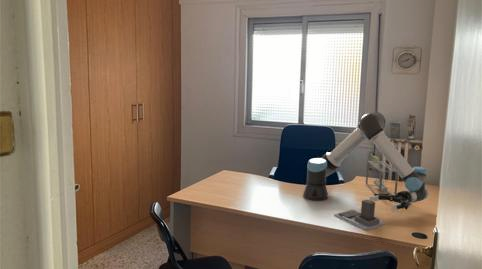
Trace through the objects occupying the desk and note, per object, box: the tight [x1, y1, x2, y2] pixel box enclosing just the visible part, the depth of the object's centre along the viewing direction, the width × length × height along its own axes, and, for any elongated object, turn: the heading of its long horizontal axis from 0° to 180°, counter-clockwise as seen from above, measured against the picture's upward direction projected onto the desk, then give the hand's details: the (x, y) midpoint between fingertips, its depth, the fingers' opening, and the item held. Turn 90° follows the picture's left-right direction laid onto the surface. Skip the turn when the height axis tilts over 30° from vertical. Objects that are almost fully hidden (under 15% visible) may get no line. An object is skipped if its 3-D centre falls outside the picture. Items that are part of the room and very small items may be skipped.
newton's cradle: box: [365, 160, 399, 199], centre depth 240 cm, size 30×10×18 cm, turn 177°
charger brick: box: [360, 199, 376, 221], centre depth 188 cm, size 5×4×11 cm
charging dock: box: [333, 209, 385, 231], centre depth 193 cm, size 21×14×4 cm, turn 32°
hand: (380, 203), depth 192 cm, fingers open, 13 cm apart
